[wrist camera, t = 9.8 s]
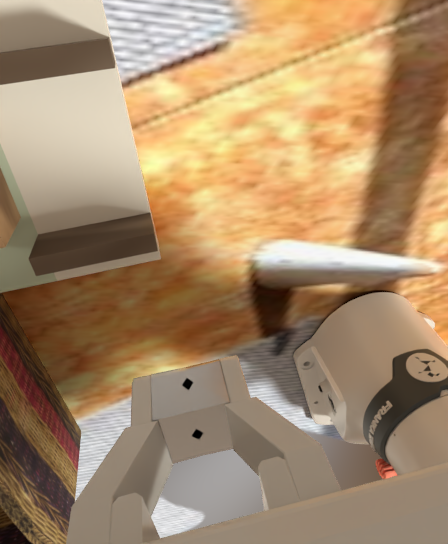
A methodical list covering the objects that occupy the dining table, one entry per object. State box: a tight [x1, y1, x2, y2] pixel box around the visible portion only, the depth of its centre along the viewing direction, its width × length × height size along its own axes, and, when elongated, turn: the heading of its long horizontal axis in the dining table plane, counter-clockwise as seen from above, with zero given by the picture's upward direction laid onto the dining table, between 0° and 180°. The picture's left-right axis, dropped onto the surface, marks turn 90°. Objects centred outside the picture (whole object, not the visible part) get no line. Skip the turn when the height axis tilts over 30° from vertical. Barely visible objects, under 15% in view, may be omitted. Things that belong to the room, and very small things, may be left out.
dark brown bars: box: [0, 37, 158, 276], centre depth 27 cm, size 14×9×4 cm, turn 7°
